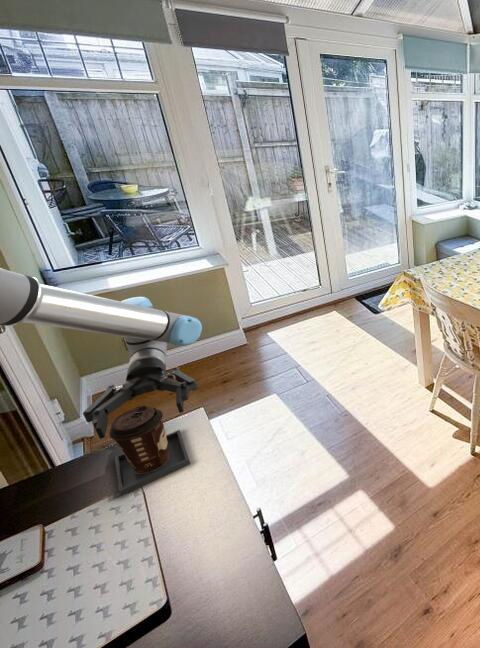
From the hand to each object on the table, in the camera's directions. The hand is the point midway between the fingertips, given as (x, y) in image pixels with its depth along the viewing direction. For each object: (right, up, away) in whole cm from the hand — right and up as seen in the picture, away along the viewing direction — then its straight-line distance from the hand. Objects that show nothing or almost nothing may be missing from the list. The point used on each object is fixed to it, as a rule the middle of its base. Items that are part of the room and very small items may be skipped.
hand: (141, 420), depth 91 cm
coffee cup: (+2, -10, +1) cm, 10 cm away
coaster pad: (+2, -10, +1) cm, 10 cm away
